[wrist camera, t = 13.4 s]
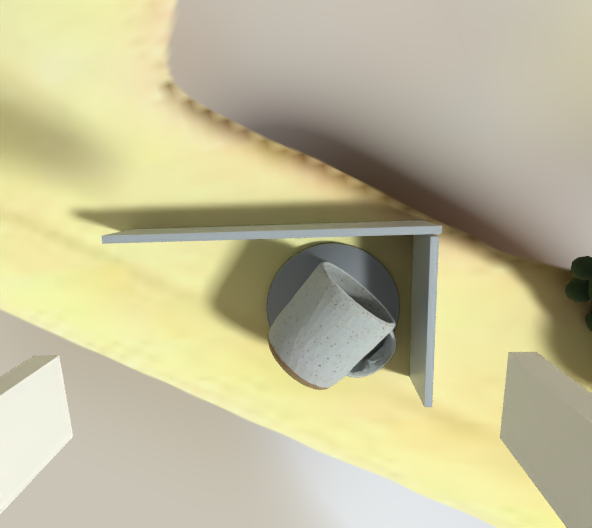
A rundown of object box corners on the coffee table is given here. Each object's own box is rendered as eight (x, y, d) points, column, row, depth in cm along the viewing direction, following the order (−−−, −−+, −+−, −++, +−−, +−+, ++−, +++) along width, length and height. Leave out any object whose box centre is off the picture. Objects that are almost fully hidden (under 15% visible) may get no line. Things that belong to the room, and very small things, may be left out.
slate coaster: (270, 368, 36) (270, 371, 35) (264, 245, 33) (263, 246, 33) (396, 367, 35) (398, 370, 34) (399, 241, 33) (400, 242, 32)
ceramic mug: (266, 321, 34) (253, 360, 27) (320, 252, 33) (323, 272, 25) (356, 386, 35) (368, 441, 28) (413, 322, 34) (442, 361, 26)
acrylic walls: (150, 378, 37) (125, 407, 32) (132, 229, 34) (101, 235, 29) (418, 376, 35) (434, 406, 30) (423, 220, 32) (442, 225, 27)
